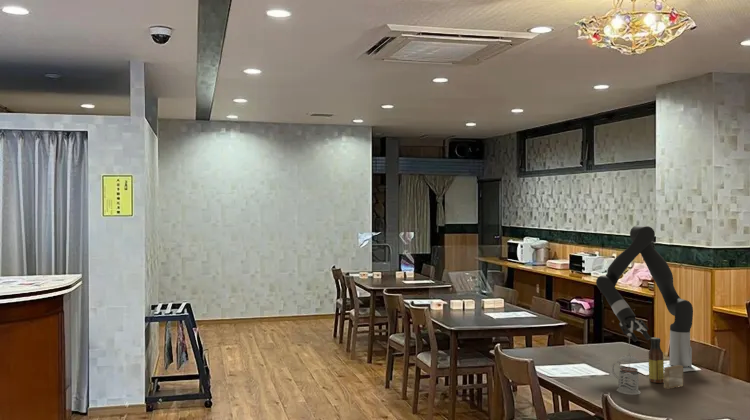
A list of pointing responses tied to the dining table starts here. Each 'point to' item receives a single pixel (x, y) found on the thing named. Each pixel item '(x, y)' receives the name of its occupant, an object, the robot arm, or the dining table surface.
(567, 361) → the dining table surface
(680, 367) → the tile
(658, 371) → the sauce bottle
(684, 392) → the dining table surface
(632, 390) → the french press
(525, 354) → the dining table surface
